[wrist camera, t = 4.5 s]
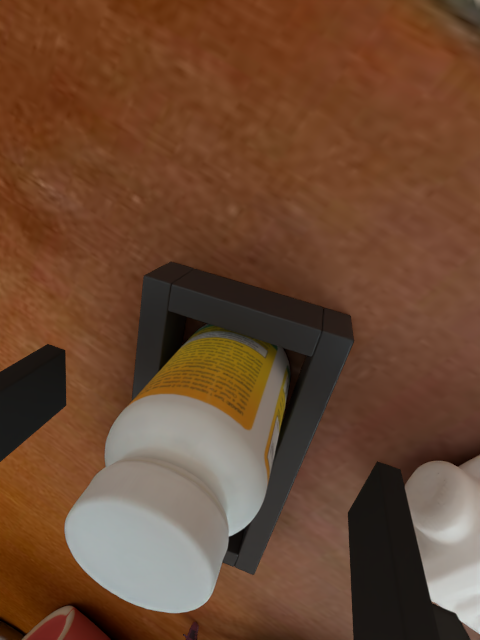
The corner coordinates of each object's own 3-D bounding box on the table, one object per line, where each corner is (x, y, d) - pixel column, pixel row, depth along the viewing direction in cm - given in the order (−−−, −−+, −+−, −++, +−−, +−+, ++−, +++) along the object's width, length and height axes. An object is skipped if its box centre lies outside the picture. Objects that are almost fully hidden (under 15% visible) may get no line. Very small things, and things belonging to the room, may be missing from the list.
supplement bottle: (310, 393, 16) (285, 635, 8) (219, 419, 18) (118, 633, 10) (259, 296, 15) (162, 457, 6) (168, 337, 17) (1, 499, 8)
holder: (141, 484, 22) (119, 519, 20) (170, 261, 15) (143, 274, 13) (262, 533, 21) (253, 576, 19) (351, 315, 14) (354, 340, 12)
